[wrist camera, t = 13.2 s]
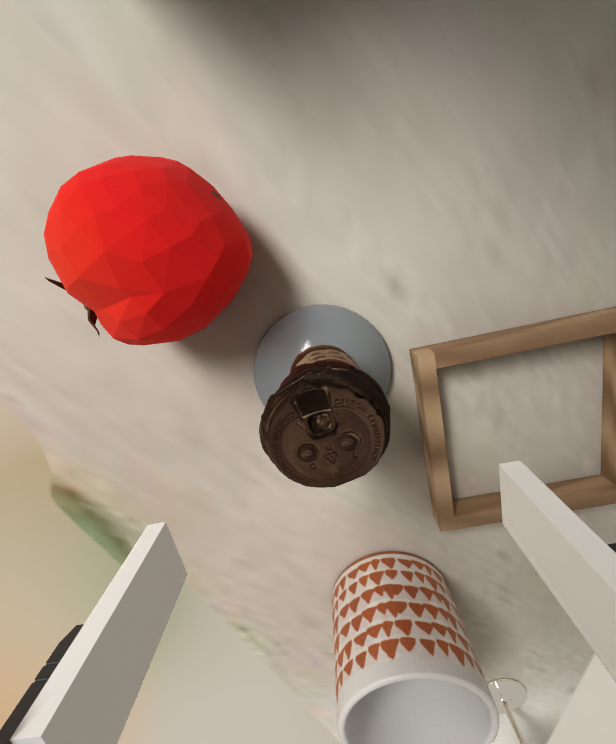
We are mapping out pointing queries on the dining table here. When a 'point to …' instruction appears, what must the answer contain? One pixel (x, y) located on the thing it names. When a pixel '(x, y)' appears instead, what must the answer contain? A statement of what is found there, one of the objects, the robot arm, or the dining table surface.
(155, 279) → the tomato
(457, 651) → the planter
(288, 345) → the flat grey disc
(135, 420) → the dining table surface
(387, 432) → the coffee cup
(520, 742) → the wineglass
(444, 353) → the square wooden frame
